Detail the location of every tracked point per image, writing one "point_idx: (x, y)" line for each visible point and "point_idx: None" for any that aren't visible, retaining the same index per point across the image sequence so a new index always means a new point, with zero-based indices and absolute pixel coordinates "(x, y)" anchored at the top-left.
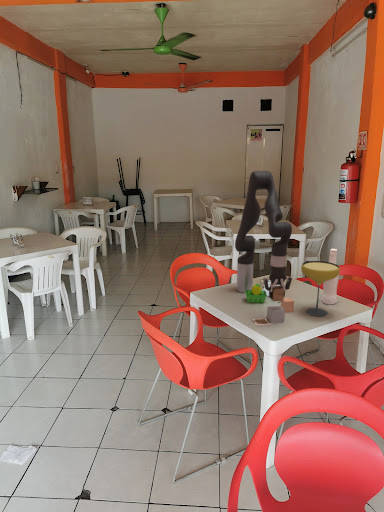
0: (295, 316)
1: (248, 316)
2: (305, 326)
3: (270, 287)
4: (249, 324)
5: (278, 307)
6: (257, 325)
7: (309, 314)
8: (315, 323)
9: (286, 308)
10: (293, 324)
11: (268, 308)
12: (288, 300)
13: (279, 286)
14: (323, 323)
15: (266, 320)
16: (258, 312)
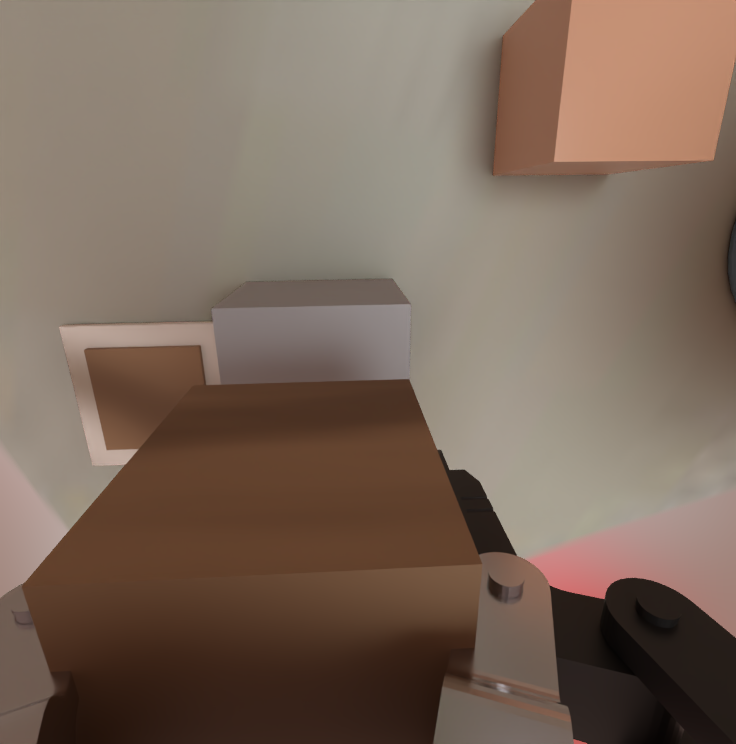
0: (563, 300)
1: (30, 218)
2: (533, 511)
3: (11, 693)
4: (29, 420)
5: (364, 366)
6: (104, 464)
7: (730, 282)
8: (649, 470)
9: (541, 170)
10: (452, 467)
11: (219, 354)
12: (647, 104)
13: (397, 658)
14: (713, 478)
15: (216, 377)
16: (176, 108)
